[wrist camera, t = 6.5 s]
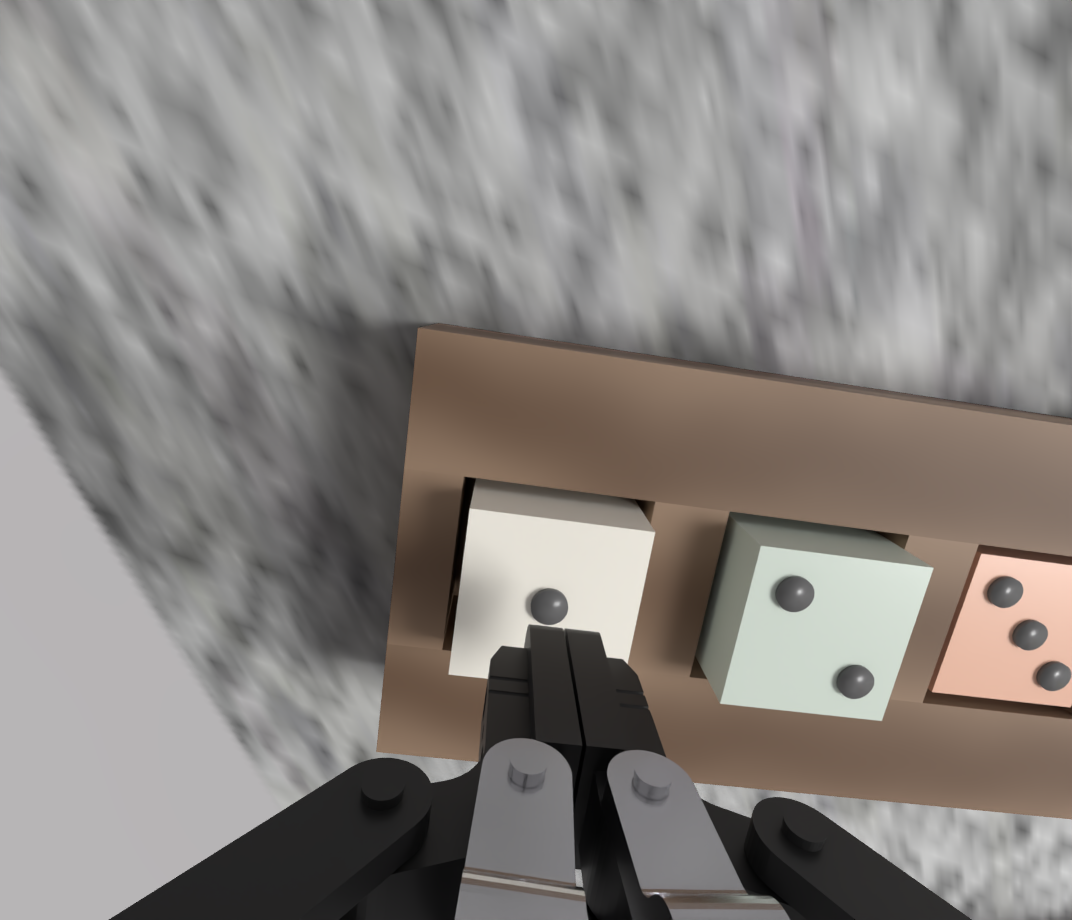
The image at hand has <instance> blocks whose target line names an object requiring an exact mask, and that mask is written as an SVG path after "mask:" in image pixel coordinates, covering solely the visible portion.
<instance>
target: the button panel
mask: <svg viewBox="0 0 1072 920" xmlns="http://www.w3.org/2000/svg"><path fill="white" fill-rule="evenodd" d="M476 478H480V479H488V480H495V481H503V482H510V483H518V484H525V485H533V486H541V487H548V488H556V489H563V490H571V491H579V492H586V493H594V494H601V495H609V496H616V497H624V498H632V499H635V501H636V502H637V504H638V506H639V507H640V509H641V510H642V512H643V513H644V515H645V517H646V518H647V520H648V521H649V523H650V525H651V526H652V528H653V529H654V531H655V536H654V541H653V546H652V550H651V555H650V560H649V565H648V569H647V574H646V579H645V584H644V588H643V593H642V598H641V602H640V607H639V612H638V617H637V621H636V626H635V631H634V636H633V640H632V645H631V650H630V655H629V659H628V665H629V666H630V667H631V668H632V669H633V671H634V672H635V673H636V674H637V675H638V677H639V680H640V683H641V686H642V689H643V692H644V693H643V695H645V697H646V700H647V703H648V706H649V707H648V709H649V710H650V712H651V715H652V717H653V720H654V723H655V726H656V729H657V732H658V735H659V737H660V740H661V743H662V746H663V749H664V752H665V755H666V758H668V759H670V760H671V761H673V762H675V763H676V764H677V765H679V766H680V767H681V768H682V769H683V770H684V771H685V772H686V773H687V774H688V776H689V777H690V778H691V780H692V782H693V783H703V784H713V785H724V786H734V787H744V788H755V789H765V790H775V791H786V792H796V793H806V794H817V795H827V796H837V797H848V798H858V799H868V800H879V801H889V802H899V803H910V804H920V805H930V806H941V807H951V808H961V809H972V810H982V811H992V812H1003V813H1013V814H1023V815H1034V816H1044V817H1054V818H1065V819H1072V705H1071V707H1062V706H1053V705H1044V704H1035V703H1026V702H1017V701H1008V700H999V699H990V698H981V697H972V696H963V695H954V694H945V693H936V692H931V691H930V690H929V689H928V686H929V683H930V680H931V678H932V675H933V672H934V669H935V666H936V663H937V661H938V658H939V655H940V652H941V649H942V647H943V644H944V641H945V638H946V635H947V633H948V630H949V627H950V624H951V621H952V618H953V616H954V613H955V610H956V607H957V604H958V602H959V599H960V596H961V593H962V590H963V588H964V585H965V582H966V579H967V576H968V573H969V571H970V568H971V565H972V562H973V559H974V557H975V554H976V551H977V548H978V545H979V544H980V545H988V546H995V547H1003V548H1011V549H1018V550H1026V551H1033V552H1041V553H1048V554H1056V555H1064V556H1071V557H1072V418H1066V417H1059V416H1052V415H1046V414H1039V413H1033V412H1026V411H1019V410H1013V409H1006V408H999V407H993V406H986V405H979V404H973V403H966V402H959V401H953V400H946V399H939V398H933V397H926V396H920V395H913V394H906V393H900V392H893V391H886V390H880V389H873V388H866V387H860V386H853V385H846V384H840V383H833V382H826V381H820V380H813V379H806V378H800V377H793V376H787V375H780V374H773V373H767V372H760V371H753V370H747V369H740V368H733V367H727V366H720V365H713V364H707V363H700V362H693V361H687V360H680V359H673V358H667V357H660V356H654V355H647V354H640V353H634V352H627V351H620V350H614V349H607V348H600V347H594V346H587V345H580V344H574V343H567V342H560V341H554V340H547V339H541V338H534V337H527V336H521V335H514V334H507V333H501V332H494V331H487V330H481V329H474V328H467V327H461V326H454V325H447V324H441V323H437V324H432V325H428V326H423V327H419V328H418V332H417V342H416V352H415V362H414V373H413V383H412V393H411V403H410V413H409V424H408V434H407V444H406V454H405V465H404V475H403V485H402V495H401V505H400V516H399V526H398V536H397V546H396V556H395V567H394V577H393V587H392V597H391V607H390V618H389V628H388V638H387V648H386V658H385V669H384V679H383V689H382V699H381V710H380V720H379V730H378V740H377V750H376V752H383V753H393V754H403V755H414V756H424V757H434V758H445V759H455V760H465V761H476V762H478V760H479V746H480V732H481V721H482V714H483V707H484V701H485V694H486V687H487V680H488V679H486V678H476V677H467V676H458V675H448V674H449V666H450V658H451V650H452V643H453V635H454V627H455V619H456V611H457V604H458V596H459V588H460V580H461V572H462V565H463V557H464V549H465V541H466V533H467V526H468V518H469V510H470V505H471V500H472V495H473V491H474V486H475V481H476ZM729 512H738V513H745V514H753V515H760V516H768V517H776V518H783V519H791V520H798V521H806V522H814V523H821V524H829V525H836V526H844V527H851V528H859V529H867V530H874V531H875V532H877V533H878V534H880V535H882V536H883V537H885V538H886V539H888V540H890V541H891V542H893V543H895V544H896V545H898V546H899V547H901V548H903V549H904V550H906V551H907V552H909V553H911V554H912V555H914V556H915V557H917V558H919V559H920V560H922V561H924V562H925V563H927V564H928V565H930V566H932V567H933V568H934V569H933V571H932V574H931V577H930V580H929V583H928V586H927V589H926V592H925V595H924V598H923V601H922V604H921V607H920V610H919V613H918V616H917V619H916V622H915V625H914V627H913V630H912V633H911V636H910V639H909V642H908V645H907V648H906V651H905V654H904V657H903V660H902V663H901V666H900V669H899V672H898V675H897V678H896V681H895V684H894V686H893V689H892V692H891V695H890V698H889V701H888V704H887V707H886V710H885V713H884V716H883V719H882V721H877V720H868V719H859V718H849V717H840V716H831V715H821V714H812V713H803V712H793V711H784V710H775V709H765V708H756V707H747V706H737V705H728V704H720V702H719V701H718V699H717V697H716V695H715V693H714V691H713V689H712V687H711V685H710V683H709V681H708V679H707V678H706V676H705V674H704V672H703V670H702V668H701V666H700V664H699V662H698V660H697V658H696V656H695V653H696V649H697V645H698V640H699V636H700V632H701V628H702V624H703V620H704V616H705V611H706V607H707V603H708V599H709V595H710V591H711V587H712V582H713V578H714V574H715V570H716V566H717V562H718V558H719V554H720V549H721V545H722V541H723V537H724V533H725V529H726V525H727V520H728V516H729Z"/></svg>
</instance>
